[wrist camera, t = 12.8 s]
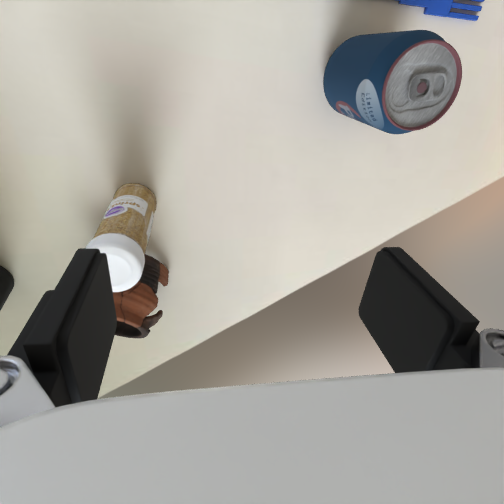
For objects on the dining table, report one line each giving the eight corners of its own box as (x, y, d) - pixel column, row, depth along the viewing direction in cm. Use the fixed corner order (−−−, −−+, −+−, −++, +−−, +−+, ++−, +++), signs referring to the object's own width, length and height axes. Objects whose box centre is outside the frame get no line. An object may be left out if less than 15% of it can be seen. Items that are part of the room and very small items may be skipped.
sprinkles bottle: (137, 173, 35) (112, 233, 23) (165, 206, 37) (154, 275, 26) (104, 197, 35) (63, 266, 24) (133, 228, 38) (109, 303, 26)
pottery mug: (188, 280, 43) (170, 341, 39) (135, 286, 47) (113, 342, 43) (125, 224, 35) (92, 294, 30) (66, 237, 39) (30, 300, 34)
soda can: (317, 116, 35) (370, 144, 24) (320, 38, 31) (383, 32, 21) (380, 110, 35) (456, 134, 25) (390, 33, 32) (484, 24, 22)
